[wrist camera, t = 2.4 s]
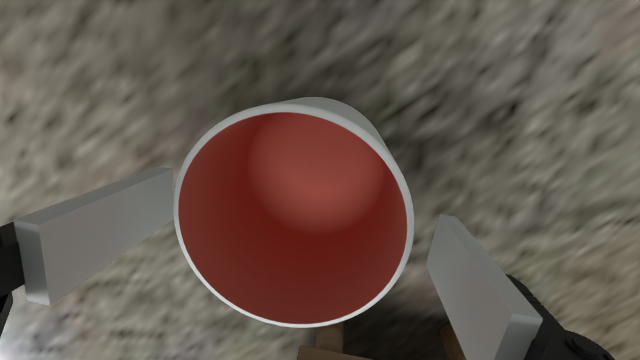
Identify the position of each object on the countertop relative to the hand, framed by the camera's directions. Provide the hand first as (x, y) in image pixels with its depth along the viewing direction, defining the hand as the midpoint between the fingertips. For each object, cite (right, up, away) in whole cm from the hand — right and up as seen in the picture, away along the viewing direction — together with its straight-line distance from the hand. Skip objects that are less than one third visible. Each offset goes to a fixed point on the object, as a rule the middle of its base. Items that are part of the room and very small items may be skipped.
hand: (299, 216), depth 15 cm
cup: (+1, +3, +7) cm, 8 cm away
